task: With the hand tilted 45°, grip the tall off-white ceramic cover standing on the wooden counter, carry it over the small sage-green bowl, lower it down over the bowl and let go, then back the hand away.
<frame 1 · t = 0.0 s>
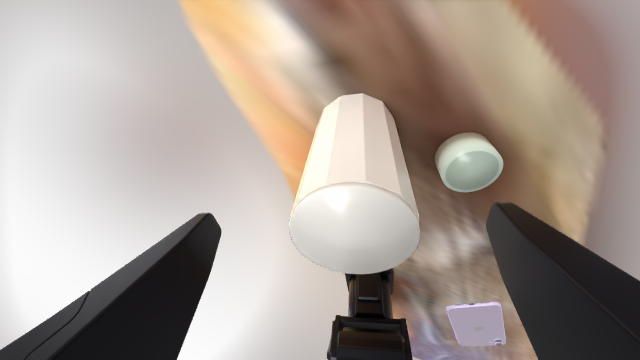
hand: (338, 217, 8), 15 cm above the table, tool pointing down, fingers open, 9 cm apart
ceramic cover: (355, 131, 22), on the table
sage bowl: (459, 151, 22), on the table
mobile phone: (475, 321, 41), on the table
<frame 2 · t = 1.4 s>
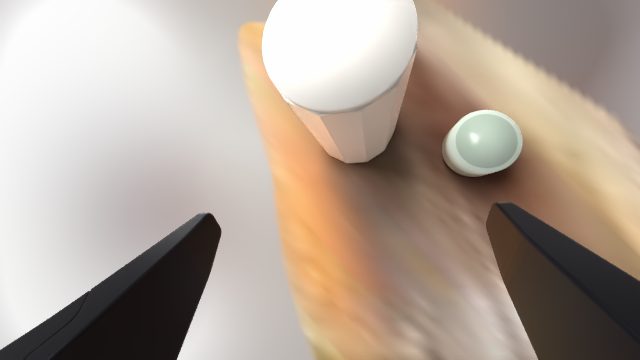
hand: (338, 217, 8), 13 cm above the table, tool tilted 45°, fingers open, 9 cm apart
ceramic cover: (354, 126, 22), on the table
sage bowl: (469, 150, 20), on the table
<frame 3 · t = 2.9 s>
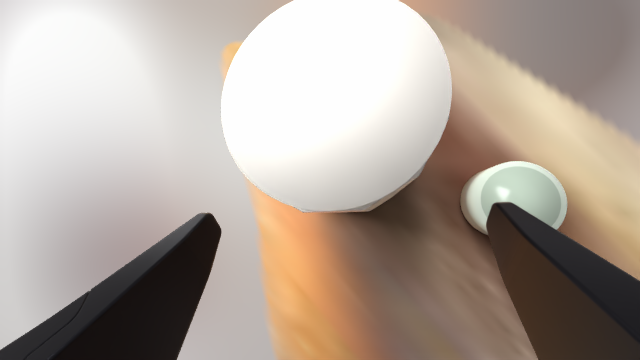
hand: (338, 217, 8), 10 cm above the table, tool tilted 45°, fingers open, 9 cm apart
ceramic cover: (354, 167, 19), on the table
sage bowl: (493, 202, 16), on the table
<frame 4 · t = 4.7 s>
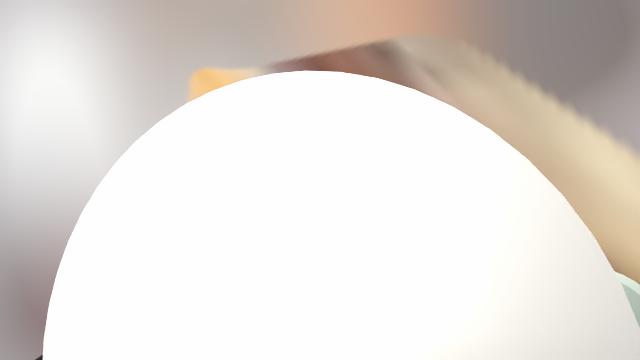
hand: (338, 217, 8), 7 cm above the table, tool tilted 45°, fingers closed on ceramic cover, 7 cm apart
ceramic cover: (354, 239, 14), on the table, touching gripper
sage bowl: (542, 299, 12), on the table
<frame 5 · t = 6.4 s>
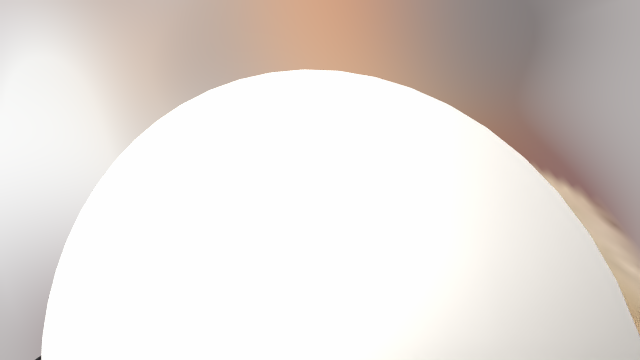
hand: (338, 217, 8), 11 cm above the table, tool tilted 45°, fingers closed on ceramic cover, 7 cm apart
ceramic cover: (354, 238, 14), point 5 cm above the table, touching gripper
when the fingers open (8 cm above the table, at t = 8.2 s): ceramic cover drops 1 cm, on the table.
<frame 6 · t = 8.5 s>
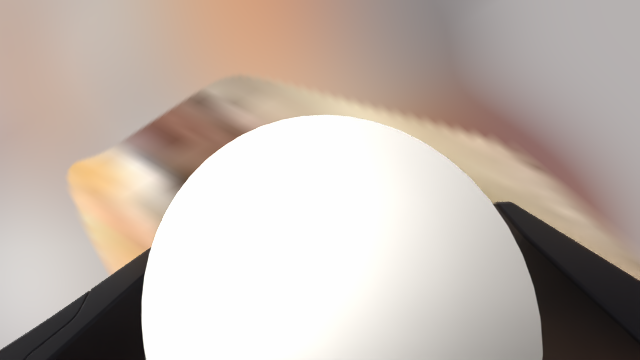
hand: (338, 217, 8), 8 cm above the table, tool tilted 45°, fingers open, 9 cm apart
ceramic cover: (356, 235, 16), on the table
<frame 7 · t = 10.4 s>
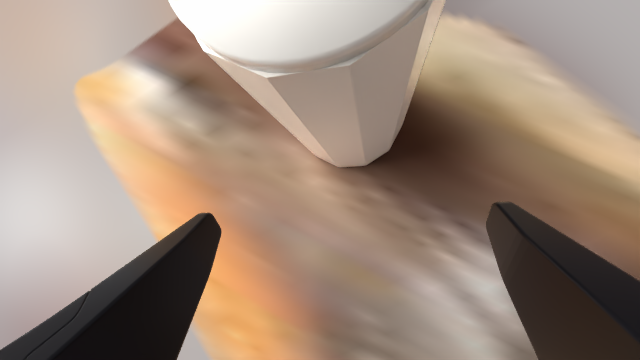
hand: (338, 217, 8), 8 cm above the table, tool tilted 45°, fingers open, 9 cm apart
ceramic cover: (349, 118, 17), on the table
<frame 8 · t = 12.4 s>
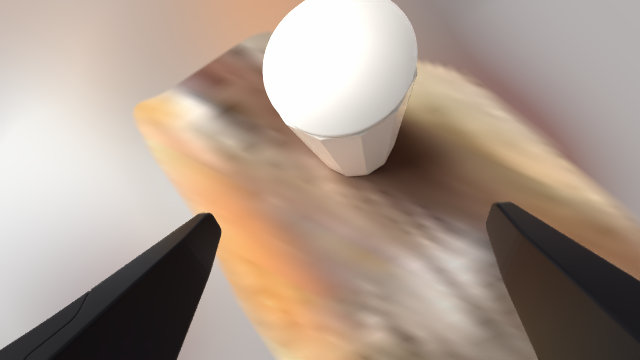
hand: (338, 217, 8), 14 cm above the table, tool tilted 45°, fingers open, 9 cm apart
ceramic cover: (354, 139, 22), on the table
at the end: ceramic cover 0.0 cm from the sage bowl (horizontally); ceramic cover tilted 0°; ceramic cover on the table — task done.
